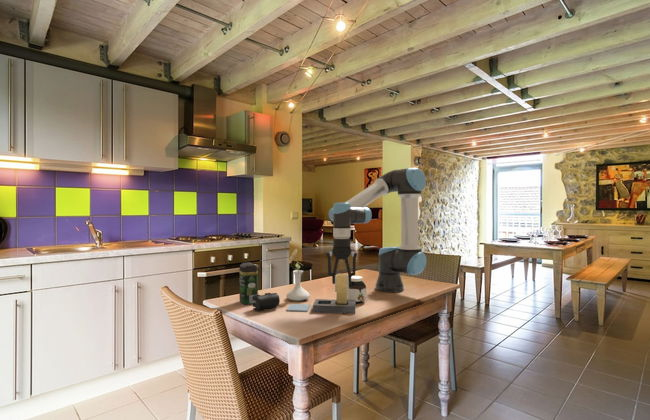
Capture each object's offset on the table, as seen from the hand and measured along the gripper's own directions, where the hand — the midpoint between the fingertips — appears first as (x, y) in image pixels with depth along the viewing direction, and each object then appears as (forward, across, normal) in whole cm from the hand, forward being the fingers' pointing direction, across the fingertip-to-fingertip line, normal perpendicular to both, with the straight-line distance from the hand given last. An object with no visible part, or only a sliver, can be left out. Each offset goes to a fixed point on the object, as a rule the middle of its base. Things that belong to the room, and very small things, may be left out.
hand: (341, 291), depth 152 cm
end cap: (+8, -33, -3) cm, 34 cm away
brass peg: (+5, 0, 0) cm, 5 cm away
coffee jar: (+8, -44, +7) cm, 45 cm away
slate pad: (+8, -19, 0) cm, 21 cm away
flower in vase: (+8, -22, +14) cm, 27 cm away
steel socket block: (+8, -3, 0) cm, 9 cm away
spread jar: (+8, +6, +16) cm, 19 cm away
